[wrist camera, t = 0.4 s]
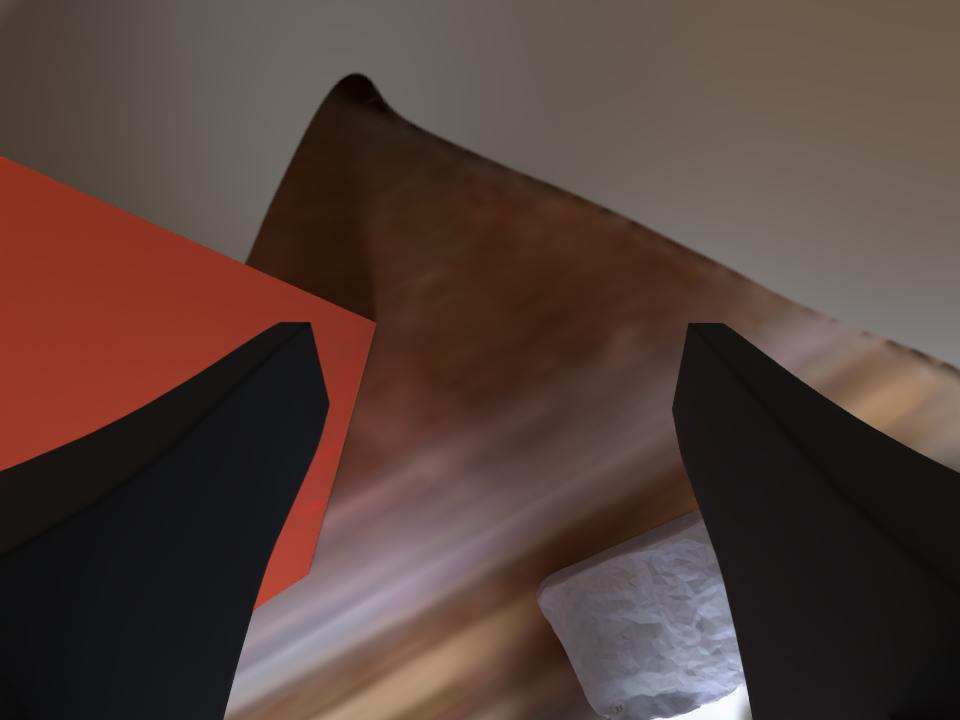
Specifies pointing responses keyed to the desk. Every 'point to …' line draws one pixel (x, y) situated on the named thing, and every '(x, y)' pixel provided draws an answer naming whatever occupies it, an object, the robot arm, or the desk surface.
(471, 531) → the desk surface
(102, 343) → the file binder
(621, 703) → the stone block
